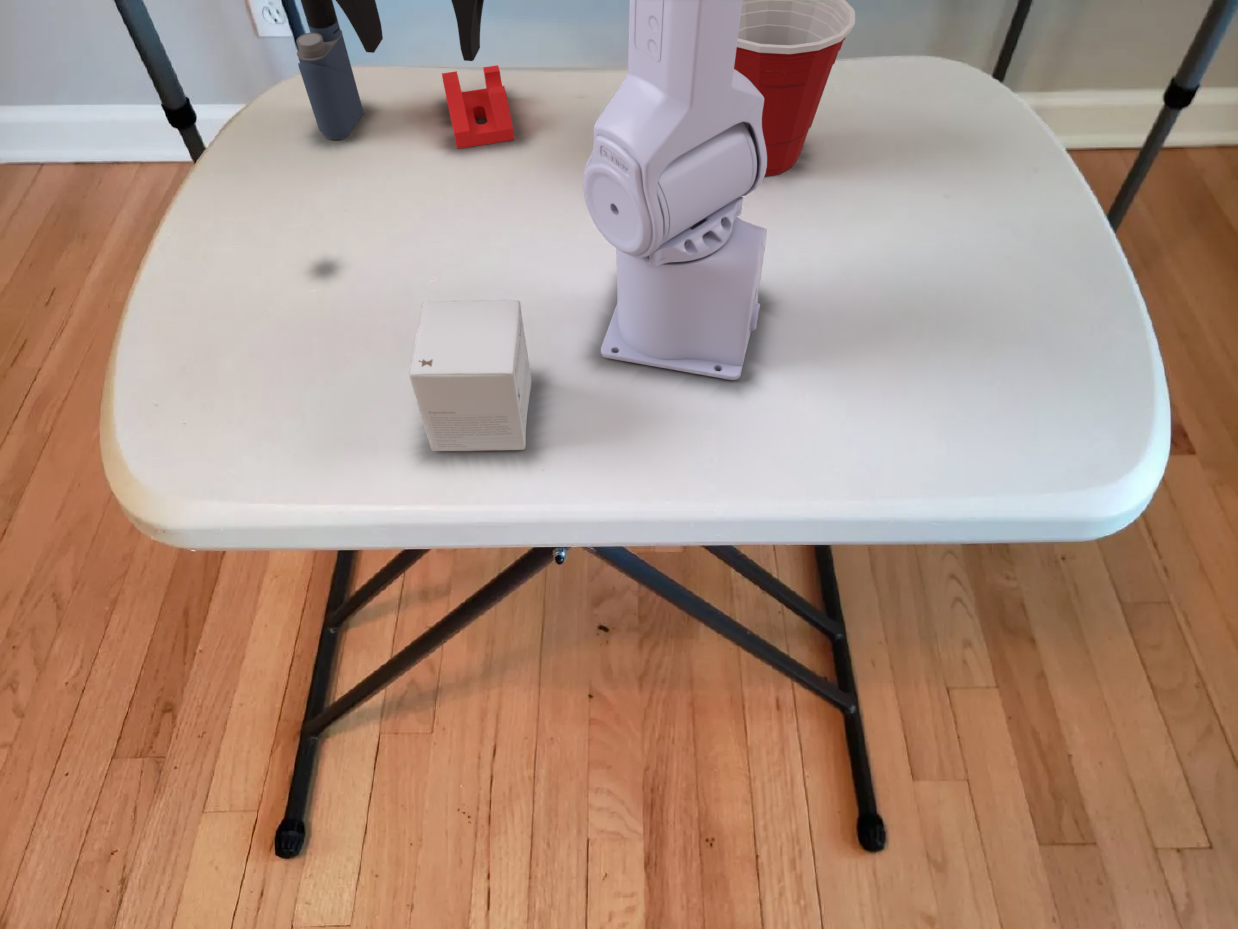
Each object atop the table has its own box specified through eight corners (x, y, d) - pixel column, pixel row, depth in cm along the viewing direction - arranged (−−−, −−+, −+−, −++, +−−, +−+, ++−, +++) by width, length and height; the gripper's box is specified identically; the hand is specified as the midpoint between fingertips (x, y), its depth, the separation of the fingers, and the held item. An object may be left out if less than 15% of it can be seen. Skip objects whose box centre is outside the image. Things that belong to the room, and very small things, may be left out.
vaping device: (368, 108, 79) (331, -35, 70) (344, 143, 76) (301, 0, 67) (341, 104, 80) (300, -38, 70) (316, 139, 77) (269, -4, 67)
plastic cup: (817, 112, 78) (842, -33, 68) (840, 192, 71) (871, 44, 62) (690, 117, 78) (696, -28, 68) (701, 197, 71) (710, 51, 62)
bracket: (447, 105, 79) (441, 73, 77) (502, 97, 80) (498, 64, 78) (457, 148, 76) (451, 116, 73) (514, 139, 76) (510, 107, 74)
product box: (526, 453, 57) (513, 374, 51) (429, 454, 57) (405, 375, 51) (533, 379, 60) (521, 298, 55) (441, 380, 61) (420, 298, 55)
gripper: (508, -177, 59) (529, 28, 70) (297, -188, 61) (350, 14, 72) (479, -131, 55) (506, 80, 66) (253, -144, 57) (316, 63, 68)
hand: (422, 49), depth 68 cm, fingers open, 7 cm apart
